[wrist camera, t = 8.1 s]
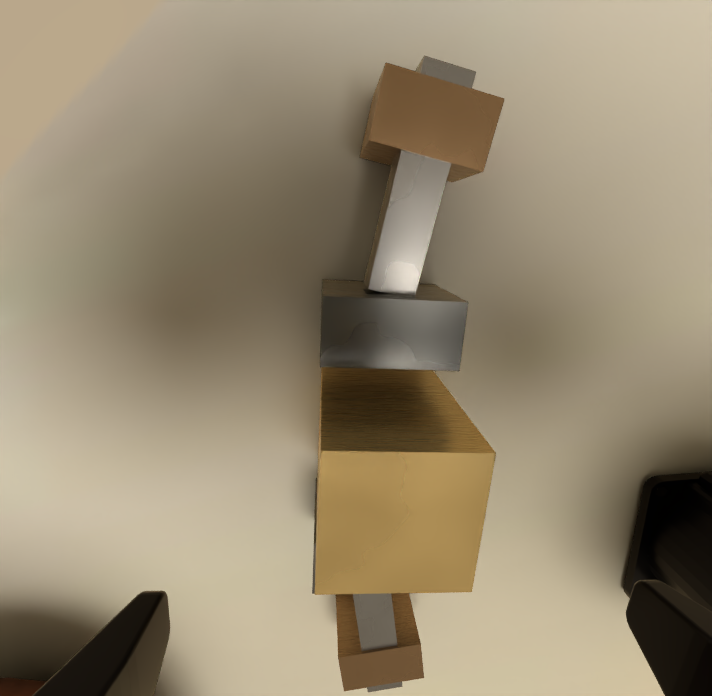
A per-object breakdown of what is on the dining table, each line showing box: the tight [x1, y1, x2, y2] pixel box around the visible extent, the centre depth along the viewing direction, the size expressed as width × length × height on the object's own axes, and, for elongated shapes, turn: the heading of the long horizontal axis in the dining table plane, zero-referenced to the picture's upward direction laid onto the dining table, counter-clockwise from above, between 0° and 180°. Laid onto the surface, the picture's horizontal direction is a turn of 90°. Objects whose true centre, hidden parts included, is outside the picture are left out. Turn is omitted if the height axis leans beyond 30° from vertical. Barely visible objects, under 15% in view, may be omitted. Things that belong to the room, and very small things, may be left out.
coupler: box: [315, 367, 496, 595], centre depth 13 cm, size 4×4×6 cm
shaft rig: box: [312, 56, 504, 692], centre depth 14 cm, size 22×4×4 cm, turn 177°
